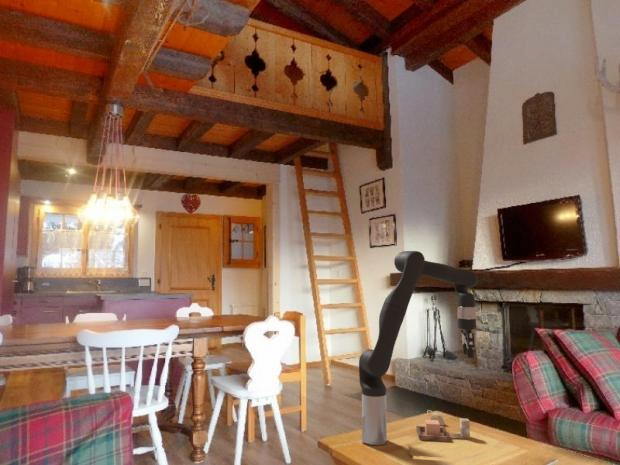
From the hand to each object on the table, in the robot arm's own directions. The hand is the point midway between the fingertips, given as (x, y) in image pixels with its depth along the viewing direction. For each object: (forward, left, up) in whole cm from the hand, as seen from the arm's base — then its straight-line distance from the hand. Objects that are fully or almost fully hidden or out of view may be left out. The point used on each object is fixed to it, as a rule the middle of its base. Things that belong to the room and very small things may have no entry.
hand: (468, 356), depth 185 cm
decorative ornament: (-14, -3, -28) cm, 32 cm away
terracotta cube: (-18, -19, -27) cm, 38 cm away
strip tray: (-14, -19, -28) cm, 36 cm away
